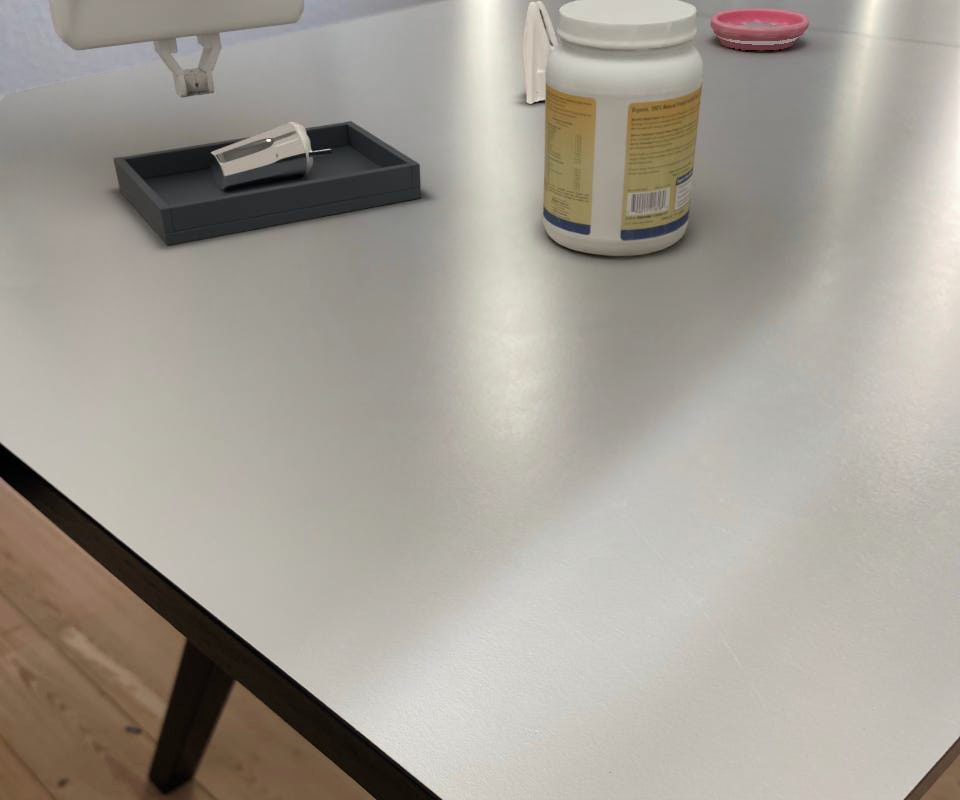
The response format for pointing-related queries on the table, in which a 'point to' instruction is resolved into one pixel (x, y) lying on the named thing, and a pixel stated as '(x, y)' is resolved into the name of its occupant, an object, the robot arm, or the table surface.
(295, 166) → the milkshake
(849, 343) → the table surface
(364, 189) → the tray
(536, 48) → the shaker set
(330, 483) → the table surface
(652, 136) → the supplement tub
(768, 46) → the saucer
